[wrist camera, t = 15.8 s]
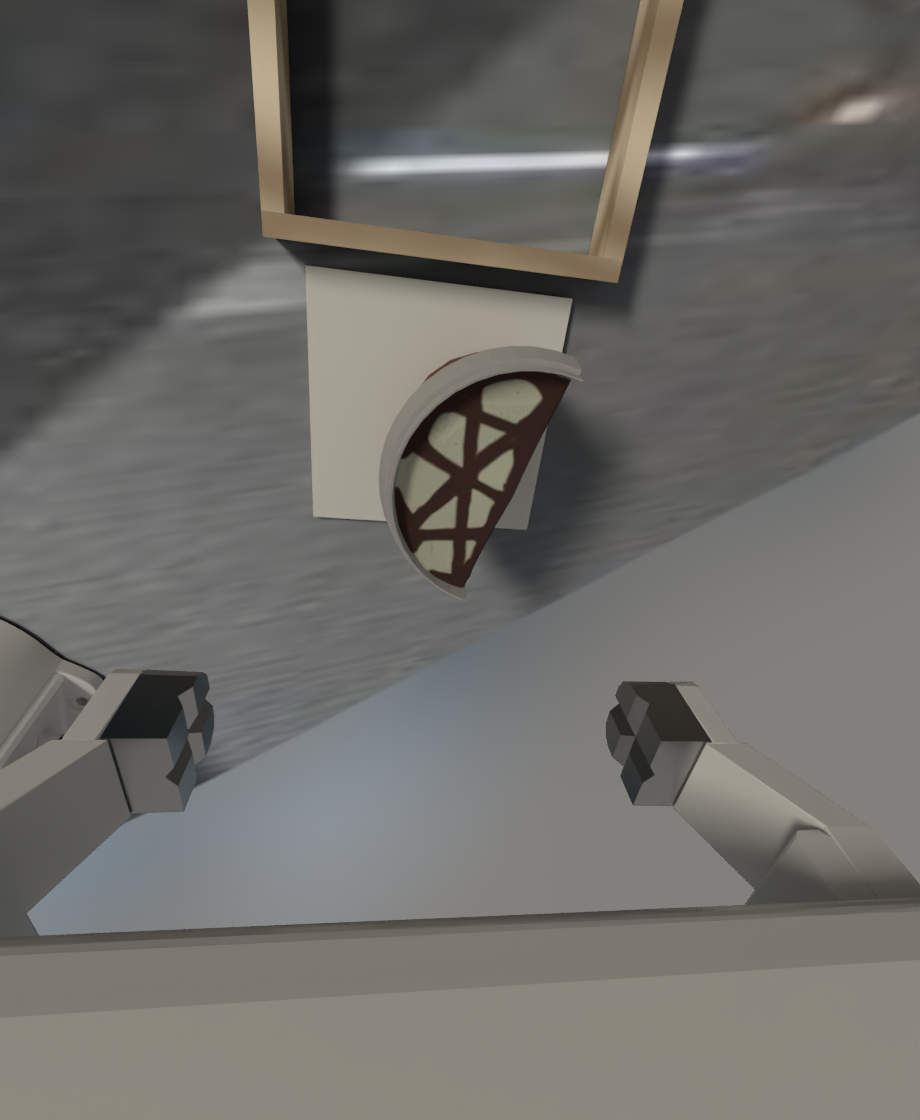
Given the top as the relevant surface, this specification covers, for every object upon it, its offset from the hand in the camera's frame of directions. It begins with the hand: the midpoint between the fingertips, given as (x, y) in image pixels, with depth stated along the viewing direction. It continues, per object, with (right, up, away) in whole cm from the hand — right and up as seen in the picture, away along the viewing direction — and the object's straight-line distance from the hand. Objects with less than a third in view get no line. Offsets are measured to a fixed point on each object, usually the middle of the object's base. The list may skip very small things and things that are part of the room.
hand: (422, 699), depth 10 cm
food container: (0, +11, +20) cm, 23 cm away
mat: (-1, +11, +20) cm, 23 cm away
